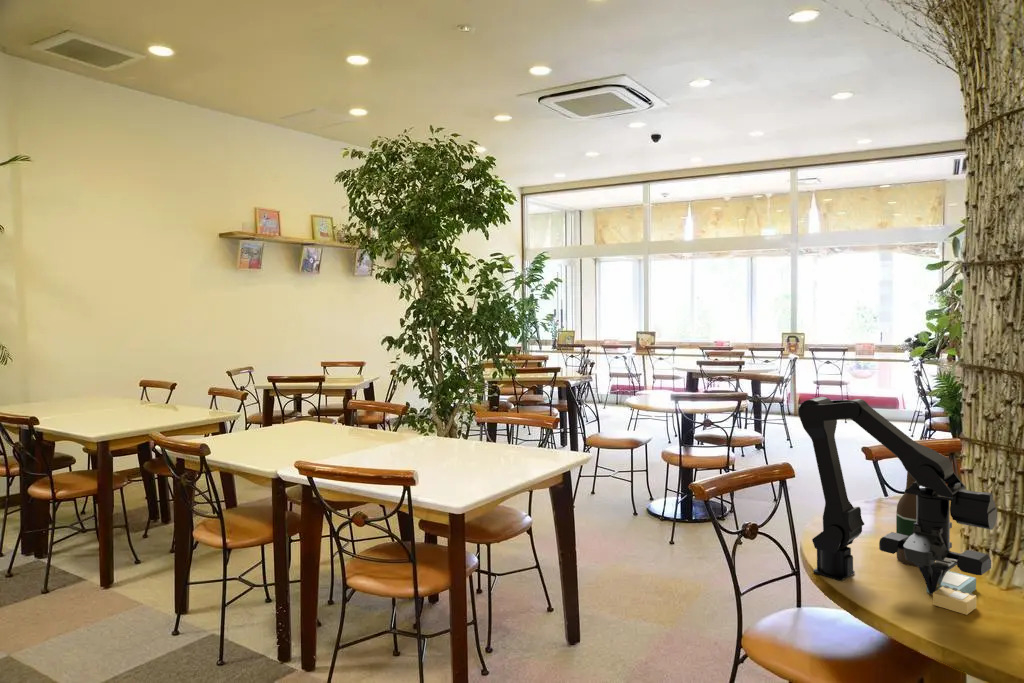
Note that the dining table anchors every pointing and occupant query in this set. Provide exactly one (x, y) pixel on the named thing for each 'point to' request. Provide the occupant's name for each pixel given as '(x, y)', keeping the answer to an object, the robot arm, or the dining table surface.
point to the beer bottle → (906, 517)
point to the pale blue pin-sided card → (958, 582)
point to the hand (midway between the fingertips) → (932, 593)
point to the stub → (954, 600)
